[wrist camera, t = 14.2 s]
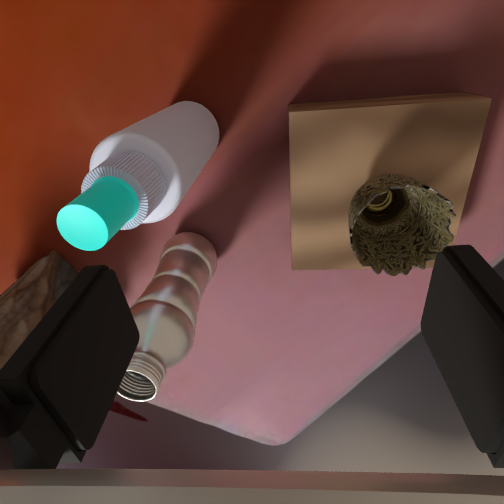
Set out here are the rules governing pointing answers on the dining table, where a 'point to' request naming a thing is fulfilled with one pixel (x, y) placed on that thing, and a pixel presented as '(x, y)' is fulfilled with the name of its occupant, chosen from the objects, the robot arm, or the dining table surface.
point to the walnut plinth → (374, 162)
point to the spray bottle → (140, 174)
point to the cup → (398, 224)
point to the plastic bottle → (168, 313)
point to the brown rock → (31, 300)
